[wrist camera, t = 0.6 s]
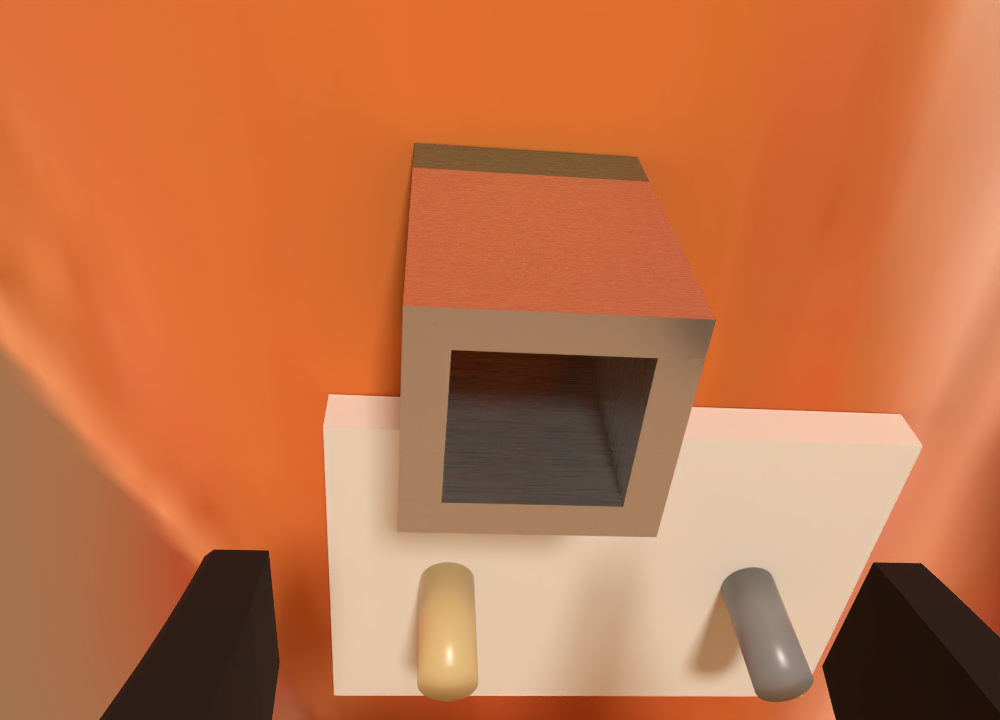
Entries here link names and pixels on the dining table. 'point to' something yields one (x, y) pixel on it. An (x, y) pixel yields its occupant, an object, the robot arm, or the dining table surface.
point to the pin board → (615, 567)
